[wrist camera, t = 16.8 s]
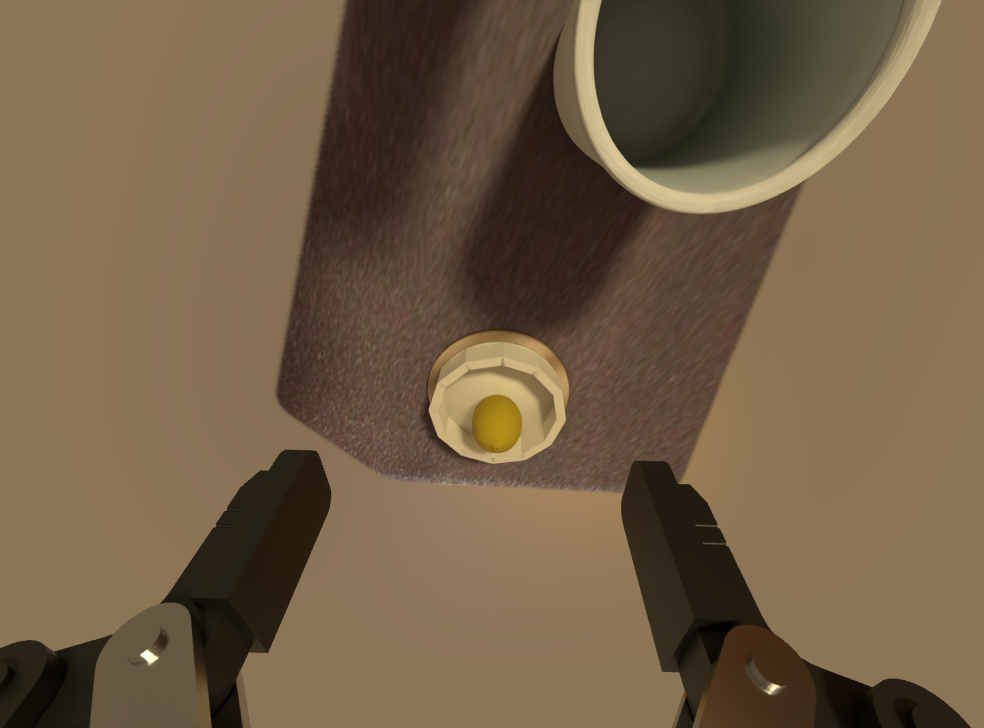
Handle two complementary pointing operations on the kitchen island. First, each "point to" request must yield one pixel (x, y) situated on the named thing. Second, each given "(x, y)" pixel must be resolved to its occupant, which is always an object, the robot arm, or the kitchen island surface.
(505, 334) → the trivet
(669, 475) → the robot arm
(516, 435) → the lemon
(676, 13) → the utensil holder
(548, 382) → the bowl
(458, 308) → the kitchen island surface
